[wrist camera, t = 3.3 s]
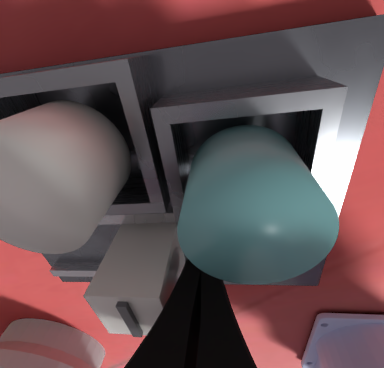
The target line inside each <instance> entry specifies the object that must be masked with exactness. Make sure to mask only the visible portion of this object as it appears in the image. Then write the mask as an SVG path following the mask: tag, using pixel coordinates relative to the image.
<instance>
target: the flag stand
mask: <svg viewBox="0 0 384 368" xmlns="http://www.w3.org/2000/svg"><path fill="white" fill-rule="evenodd" d="M104 356H105V350H104V348H103V346H102V345H101V344H100V343H99V342H98V341H97V340H95V339H94V338H93V337H91V336H90V335H88V334H86V333H84V332H82V331H80V330H78V329H76V328H73V327H70V326H68V325H65V324H61V323H58V322H54V321H49V320H44V319H34V318H26V319H18V320H15V321H13V322H12V323H10V324H9V326H8V327H7V328H6V330H5V331H4V332H3V334H2V335H1V337H0V368H100V367H101V364H102V362H103V359H104Z"/></svg>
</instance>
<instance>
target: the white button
mask: <svg viewBox="0 0 384 368" xmlns="http://www.w3.org/2000/svg"><path fill="white" fill-rule="evenodd" d="M130 171H131V156H130V151H129V148H128V146H127V143H126V141H125V139H124V137H123V136H122V134H121V133H120V131H119V130H118V129H117V128H116V126H115V125H114V124H113V123H112V122H111V121H110V120H109V119H108V118H106V117H105V116H104V115H103V114H101V113H100V112H98V111H97V110H95V109H93V108H91V107H89V106H87V105H84V104H82V103H79V102H74V101H68V100H57V101H52V102H48V103H46V104H43V105H40V106H37V107H35V108H32V109H29V110H26V111H23V112H21V113H18V114H15V115H12V116H10V117H7V118H4V119H1V120H0V239H1V240H2V241H4V242H7V243H9V244H11V245H13V246H16V247H19V248H22V249H25V250H28V251H32V252H37V253H44V254H63V253H68V252H72V251H75V250H77V249H79V248H80V247H82V246H83V245H84V244H85V243H86V242H87V241H88V240H89V238H90V237H91V235H92V233H93V232H94V230H95V229H96V227H97V226H98V224H99V223H100V221H101V220H102V218H103V217H104V215H105V214H106V212H107V211H108V209H109V208H110V206H111V204H112V203H113V201H114V200H115V198H116V197H117V195H118V194H119V192H120V191H121V189H122V188H123V186H124V185H125V183H126V181H127V180H128V178H129V175H130Z"/></svg>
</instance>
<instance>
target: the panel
mask: <svg viewBox="0 0 384 368" xmlns="http://www.w3.org/2000/svg"><path fill="white" fill-rule="evenodd" d="M383 67H384V14H383V15H377V16H371V17H364V18H358V19H351V20H345V21H338V22H332V23H325V24H319V25H313V26H306V27H300V28H293V29H287V30H280V31H274V32H268V33H261V34H255V35H248V36H242V37H235V38H229V39H223V40H216V41H210V42H203V43H197V44H190V45H184V46H178V47H171V48H165V49H158V50H152V51H145V52H139V53H133V54H126V55H120V56H113V57H107V58H100V59H94V60H87V61H81V62H75V63H68V64H62V65H55V66H49V67H42V68H36V69H30V70H23V71H17V72H10V73H4V74H0V120H1V119H4V118H7V117H10V116H12V115H15V114H18V113H21V112H23V111H26V110H29V109H32V108H35V107H37V106H40V105H43V104H46V103H48V102H52V101H57V100H68V101H74V102H79V103H82V104H84V105H87V106H89V107H91V108H93V109H95V110H97V111H98V112H100V113H101V114H103V115H104V116H105V117H106V118H108V119H109V120H110V121H111V122H112V123H113V124H114V125H115V126H116V128H117V129H118V130H119V131H120V133H121V134H122V136H123V137H124V139H125V141H126V143H127V146H128V148H129V151H130V156H131V171H130V175H129V178H128V180H127V181H126V183H125V185H124V186H123V188H122V189H121V191H120V192H119V194H118V195H117V197H116V198H115V200H114V201H113V203H112V204H111V206H110V208H109V209H108V211H107V212H106V214H105V215H104V217H103V218H102V220H101V221H100V223H99V224H98V226H97V227H96V229H95V230H94V232H93V233H92V235H91V237H90V238H89V240H88V241H87V242H86V243H85V244H84V245H83V246H82V247H80V248H79V249H77V250H75V251H72V252H68V253H63V254H44V253H42V254H43V256H44V257H45V258H46V260H47V261H48V262H49V264H50V265H51V266H52V268H51V269H50V272H51V273H52V274H53V276H59V277H60V279H61V280H62V281H63V282H91V281H92V279H93V277H94V275H95V273H96V271H97V269H98V267H99V265H100V264H101V262H102V260H103V258H104V256H105V254H106V252H107V250H108V249H109V247H110V245H111V243H112V241H113V239H114V237H115V235H116V233H117V232H118V230H119V228H120V226H121V224H143V223H176V225H177V226H178V221H179V217H180V212H181V208H182V203H183V199H184V194H185V190H186V185H187V181H188V176H189V172H190V167H191V163H192V160H193V157H194V155H195V153H196V152H197V150H198V149H199V147H200V146H201V145H202V144H203V143H204V142H205V141H206V140H207V139H208V138H210V137H211V136H212V135H214V134H216V133H217V132H219V131H222V130H224V129H226V128H230V127H233V126H239V125H257V126H262V127H266V128H269V129H272V130H274V131H276V132H277V133H279V134H281V135H282V136H283V137H285V138H286V139H287V140H288V141H289V142H290V144H291V145H292V146H293V148H294V149H295V151H296V152H297V154H298V155H299V156H300V158H301V159H302V161H303V162H304V164H305V165H306V166H307V168H308V169H309V171H310V172H311V174H312V175H313V176H314V178H315V179H316V181H317V182H318V183H319V185H320V186H321V188H322V189H323V191H324V192H325V193H326V195H327V196H328V198H329V199H330V201H331V202H332V204H333V205H334V207H335V209H336V212H337V214H338V217H339V214H340V210H341V207H342V204H343V200H344V197H345V194H346V190H347V187H348V184H349V180H350V177H351V173H352V170H353V167H354V163H355V160H356V157H357V153H358V150H359V147H360V143H361V140H362V137H363V133H364V130H365V127H366V123H367V120H368V117H369V113H370V110H371V107H372V103H373V100H374V97H375V93H376V90H377V87H378V83H379V80H380V77H381V73H382V70H383ZM184 257H185V262H186V260H187V257H186V256H185V254H184ZM326 257H327V256H326ZM326 257H325V258H324V259H323V260H322V261H321V262H320V263H319V264H317V265H316V266H314V267H313V268H312V269H310V270H308V271H307V272H305V273H303V274H301V275H298V276H296V277H293V278H291V279H288V280H284V281H280V282H275V283H269V284H242V285H302V286H318V284H319V280H320V277H321V274H322V270H323V267H324V264H325V260H326ZM223 282H224V284H239V283H233V282H228V281H224V280H223Z"/></svg>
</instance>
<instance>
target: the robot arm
mask: <svg viewBox="0 0 384 368" xmlns="http://www.w3.org/2000/svg"><path fill="white" fill-rule="evenodd" d="M301 365H302V368H384V315H375V314H346V313H320V314H318V315H317V317H316V320H315V323H314V326H313V329H312V331H311V334H310V337H309V340H308V343H307V346H306V349H305V352H304V355H303V358H302V361H301ZM124 368H257V367H256V365H255V363H254V360H253V358H252V356H251V354H250V351H249V349H248V347H247V345H246V342H245V340H244V338H243V335H242V333H241V330H240V328H239V325H238V323H237V320H236V318H235V315H234V312H233V310H232V307H231V304H230V301H229V298H228V295H227V292H226V288H225V285H224V282H223V280H221V279H218V278H216V277H213V276H211V275H209V274H207V273H205V272H203V271H202V270H200V269H199V268H197V267H196V266H195V265H194V264H192V262H191V261H190V260H189V259H188V258H187V260H186V262H185V265H184V267H183V269H182V272H181V274H180V276H179V278H178V280H177V283H176V285H175V287H174V289H173V291H172V293H171V295H170V297H169V298H168V300H167V302H166V304H165V306H164V308H163V309H162V311H161V313H160V315H159V316H158V318H157V320H156V321H155V323H154V325H153V326H152V328H151V329H150V331H149V332H148V334H147V336H146V337H145V339H144V340H143V342H142V343H141V344H140V346H139V347H138V349H137V350H136V352H135V353H134V355H133V356H132V357H131V359H130V360H129V362H128V363H127V364H126V366H125V367H124Z"/></svg>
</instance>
